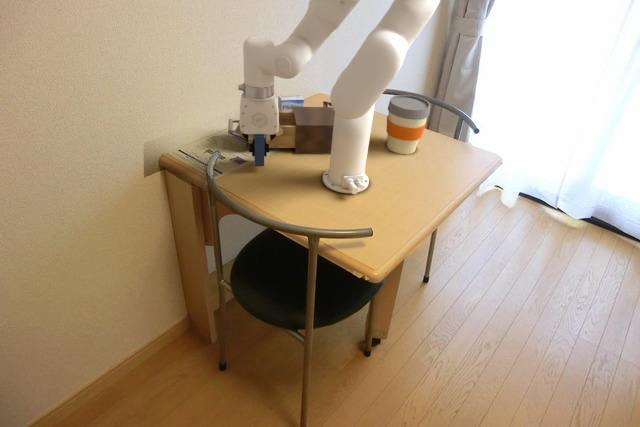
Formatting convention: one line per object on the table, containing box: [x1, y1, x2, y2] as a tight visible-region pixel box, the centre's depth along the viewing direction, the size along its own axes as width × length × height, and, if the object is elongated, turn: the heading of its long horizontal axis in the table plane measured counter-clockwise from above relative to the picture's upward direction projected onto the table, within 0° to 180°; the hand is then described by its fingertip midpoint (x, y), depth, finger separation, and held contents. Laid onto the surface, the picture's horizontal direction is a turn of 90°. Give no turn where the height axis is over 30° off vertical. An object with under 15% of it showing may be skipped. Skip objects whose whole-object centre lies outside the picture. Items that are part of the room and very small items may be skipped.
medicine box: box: [277, 95, 305, 112], centre depth 148 cm, size 8×4×9 cm, turn 105°
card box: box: [253, 135, 265, 167], centre depth 121 cm, size 3×7×9 cm, turn 8°
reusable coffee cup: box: [386, 94, 431, 155], centre depth 136 cm, size 13×13×15 cm
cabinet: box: [292, 106, 335, 155], centre depth 136 cm, size 19×14×9 cm
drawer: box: [227, 111, 296, 151], centre depth 134 cm, size 22×12×7 cm, turn 98°
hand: (259, 153), depth 123 cm, fingers closed on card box, 2 cm apart
